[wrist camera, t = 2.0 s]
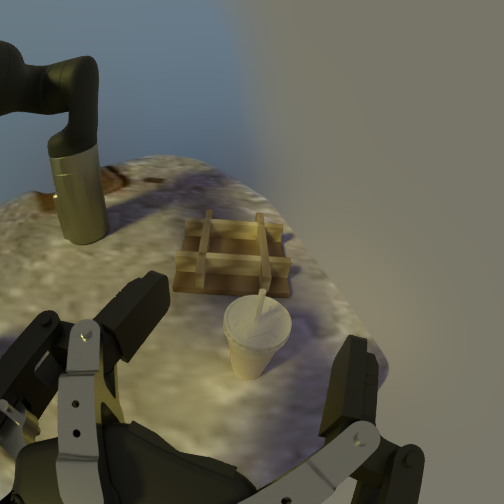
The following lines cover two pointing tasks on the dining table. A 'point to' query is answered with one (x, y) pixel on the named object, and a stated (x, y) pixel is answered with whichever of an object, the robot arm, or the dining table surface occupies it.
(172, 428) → the dining table surface
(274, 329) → the smoothie
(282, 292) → the wooden grid tray
